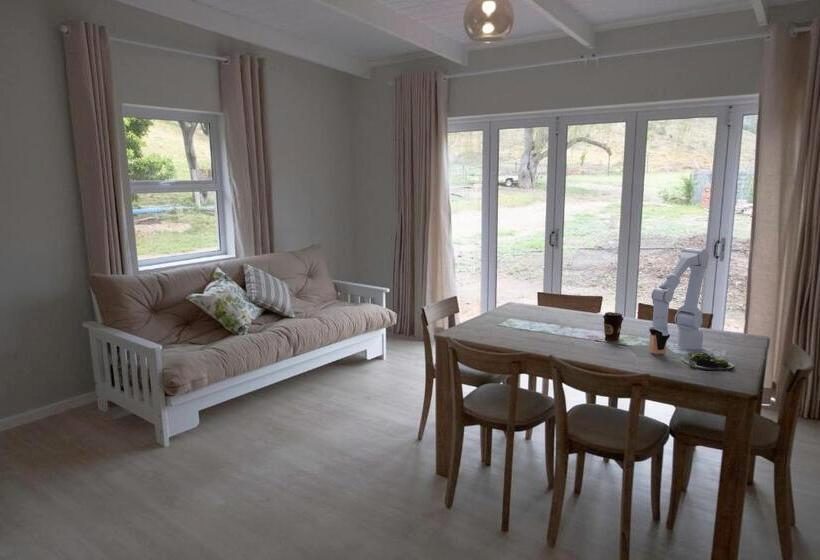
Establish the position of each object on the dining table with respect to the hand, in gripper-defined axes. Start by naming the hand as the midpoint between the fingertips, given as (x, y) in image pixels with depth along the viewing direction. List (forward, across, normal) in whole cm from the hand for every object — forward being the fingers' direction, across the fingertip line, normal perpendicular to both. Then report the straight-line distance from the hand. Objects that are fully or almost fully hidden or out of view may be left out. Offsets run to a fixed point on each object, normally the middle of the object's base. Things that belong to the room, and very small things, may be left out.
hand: (658, 347), depth 234 cm
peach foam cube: (+2, 0, 0) cm, 2 cm away
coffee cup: (+3, -20, -14) cm, 25 cm away
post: (+3, 0, 0) cm, 3 cm away
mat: (+3, -4, -1) cm, 5 cm away
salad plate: (+4, +12, +15) cm, 20 cm away
